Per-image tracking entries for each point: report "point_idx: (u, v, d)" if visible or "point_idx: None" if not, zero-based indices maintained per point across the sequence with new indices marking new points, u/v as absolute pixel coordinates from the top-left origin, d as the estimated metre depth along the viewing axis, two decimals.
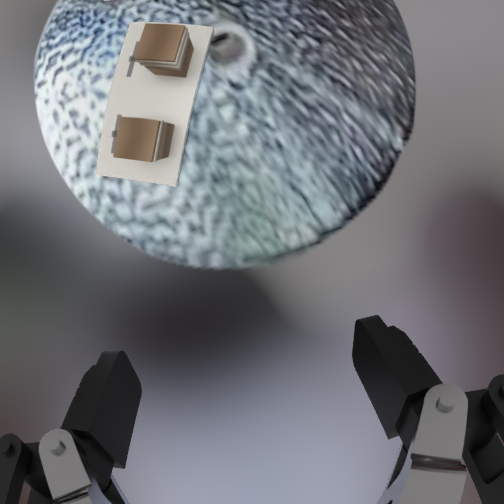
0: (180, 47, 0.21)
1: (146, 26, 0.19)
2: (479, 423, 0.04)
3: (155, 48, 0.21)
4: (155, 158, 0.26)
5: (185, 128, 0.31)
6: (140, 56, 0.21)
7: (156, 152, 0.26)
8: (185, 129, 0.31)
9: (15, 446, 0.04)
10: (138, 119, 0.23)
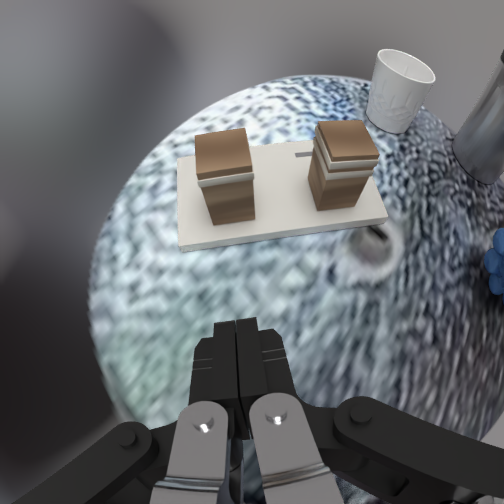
0: (352, 162, 0.21)
1: (358, 121, 0.21)
2: (323, 444, 0.05)
3: (339, 136, 0.21)
4: (203, 183, 0.21)
5: (254, 233, 0.27)
6: (322, 125, 0.21)
7: (211, 181, 0.21)
8: (253, 233, 0.27)
9: (140, 436, 0.05)
10: (246, 145, 0.21)
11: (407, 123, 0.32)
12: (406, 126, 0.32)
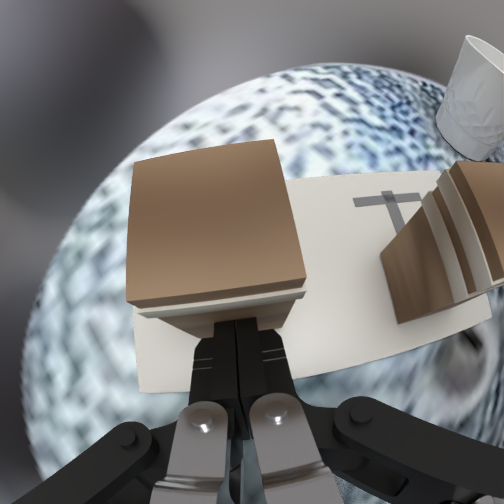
0: None
1: None
2: (323, 444, 0.05)
3: (501, 208, 0.07)
4: (155, 313, 0.07)
5: None
6: (468, 175, 0.07)
7: (177, 311, 0.07)
8: None
9: (140, 436, 0.05)
10: (284, 197, 0.07)
11: (494, 148, 0.18)
12: (492, 151, 0.18)
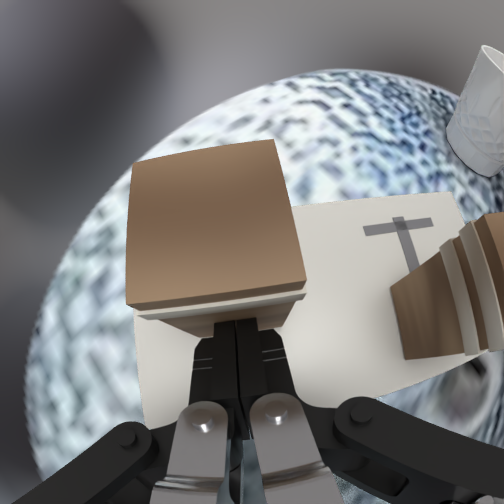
0: None
1: None
2: (323, 444, 0.05)
3: None
4: (155, 315, 0.07)
5: None
6: (494, 231, 0.06)
7: (177, 313, 0.07)
8: None
9: (140, 436, 0.05)
10: (284, 198, 0.07)
11: None
12: (502, 167, 0.17)
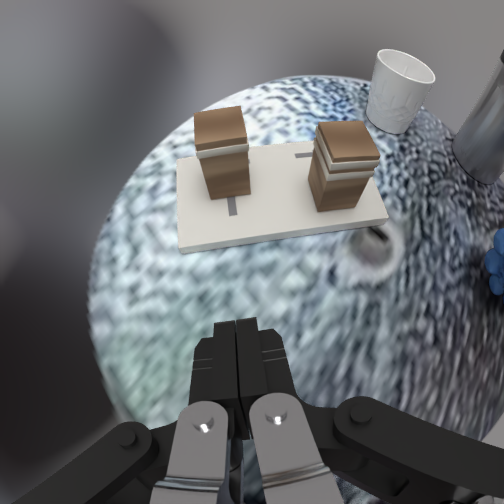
0: (352, 163, 0.21)
1: (359, 122, 0.21)
2: (323, 444, 0.05)
3: (339, 137, 0.21)
4: (201, 154, 0.22)
5: (255, 234, 0.27)
6: (323, 126, 0.21)
7: (208, 152, 0.22)
8: (253, 235, 0.27)
9: (140, 435, 0.05)
10: (242, 120, 0.22)
11: (407, 123, 0.32)
12: (406, 126, 0.32)
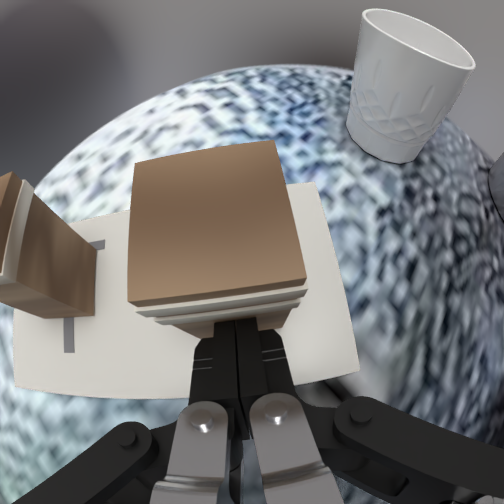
0: (207, 304, 0.07)
1: (261, 146, 0.08)
2: (323, 444, 0.05)
3: (173, 211, 0.07)
4: None
5: (96, 394, 0.12)
6: (140, 177, 0.07)
7: None
8: (94, 394, 0.12)
9: (140, 436, 0.05)
10: None
11: (420, 145, 0.17)
12: (417, 150, 0.18)
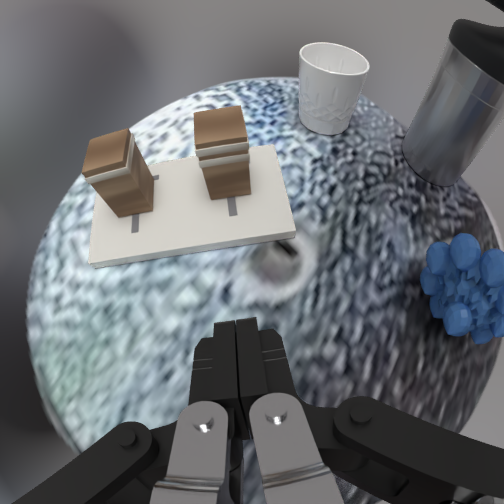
0: (218, 148, 0.21)
1: (236, 107, 0.22)
2: (323, 444, 0.05)
3: (208, 124, 0.21)
4: (89, 179, 0.21)
5: (150, 251, 0.26)
6: (196, 116, 0.22)
7: (95, 178, 0.21)
8: (149, 252, 0.26)
9: (140, 435, 0.05)
10: (124, 143, 0.21)
11: (341, 122, 0.31)
12: (341, 125, 0.32)
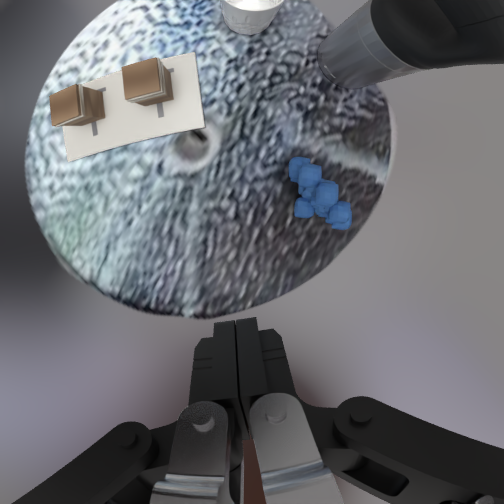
0: (141, 96, 0.26)
1: (152, 59, 0.24)
2: (323, 444, 0.05)
3: (133, 79, 0.25)
4: (58, 125, 0.26)
5: (108, 147, 0.35)
6: (123, 71, 0.24)
7: (62, 124, 0.26)
8: (107, 148, 0.35)
9: (140, 436, 0.05)
10: (76, 99, 0.24)
11: (259, 29, 0.29)
12: (259, 30, 0.30)
